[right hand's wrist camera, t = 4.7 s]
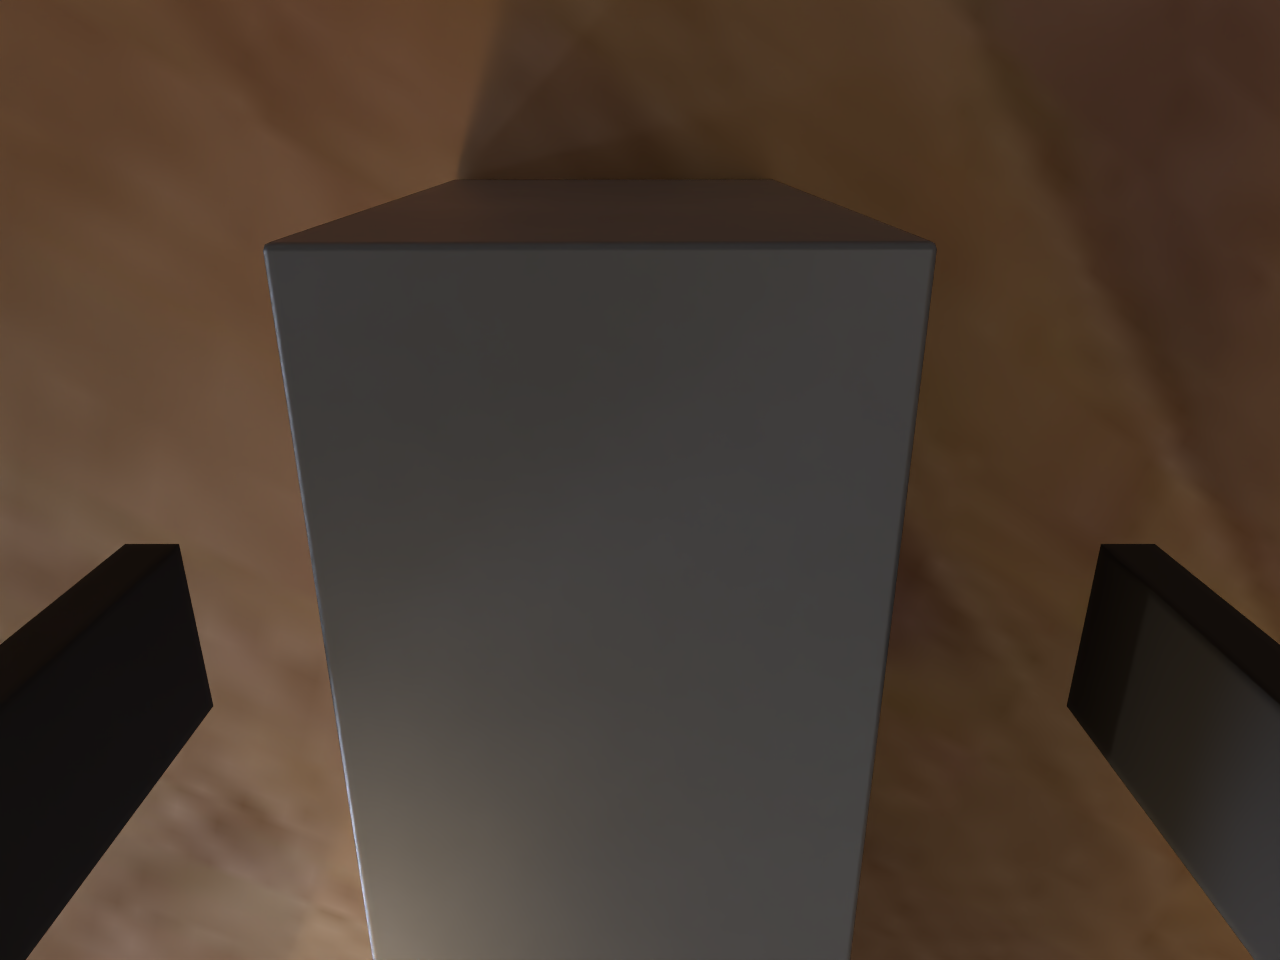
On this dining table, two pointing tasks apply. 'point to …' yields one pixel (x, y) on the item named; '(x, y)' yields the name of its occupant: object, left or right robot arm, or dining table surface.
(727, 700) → the beam
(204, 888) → the dining table surface
